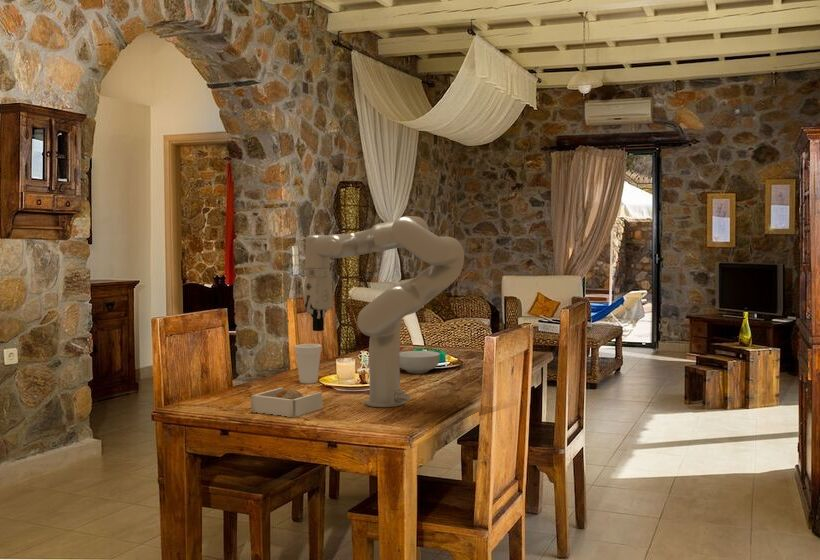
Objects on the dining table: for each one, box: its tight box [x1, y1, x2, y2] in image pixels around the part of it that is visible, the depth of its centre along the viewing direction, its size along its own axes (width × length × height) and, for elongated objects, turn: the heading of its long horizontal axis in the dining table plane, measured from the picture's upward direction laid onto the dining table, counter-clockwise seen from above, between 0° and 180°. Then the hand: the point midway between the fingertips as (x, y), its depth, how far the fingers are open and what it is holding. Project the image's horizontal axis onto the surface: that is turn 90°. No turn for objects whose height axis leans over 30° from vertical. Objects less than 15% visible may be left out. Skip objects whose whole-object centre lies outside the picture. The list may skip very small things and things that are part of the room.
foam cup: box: [294, 343, 322, 384], centre depth 298 cm, size 10×9×13 cm
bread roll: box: [275, 388, 304, 400], centre depth 254 cm, size 10×10×8 cm
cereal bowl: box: [400, 350, 441, 374], centre depth 317 cm, size 17×17×7 cm
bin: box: [250, 387, 323, 419], centre depth 253 cm, size 16×14×5 cm
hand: (318, 330), depth 268 cm, fingers closed
